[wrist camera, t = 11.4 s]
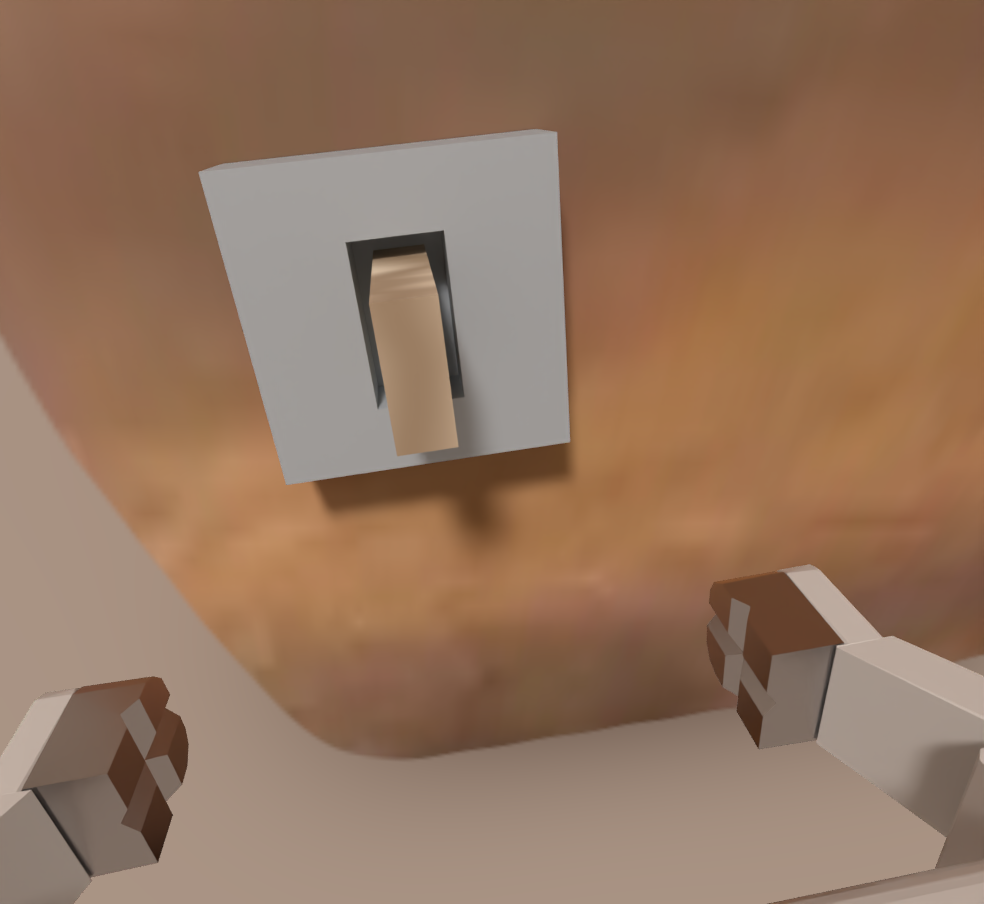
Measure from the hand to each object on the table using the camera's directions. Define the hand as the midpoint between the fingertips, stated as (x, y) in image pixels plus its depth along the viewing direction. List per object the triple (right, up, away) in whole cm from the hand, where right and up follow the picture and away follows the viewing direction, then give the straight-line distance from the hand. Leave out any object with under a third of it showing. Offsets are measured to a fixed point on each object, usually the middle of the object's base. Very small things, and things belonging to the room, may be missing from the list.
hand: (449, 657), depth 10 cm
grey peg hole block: (-3, +9, +18) cm, 21 cm away
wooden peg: (-3, +9, +17) cm, 20 cm away
